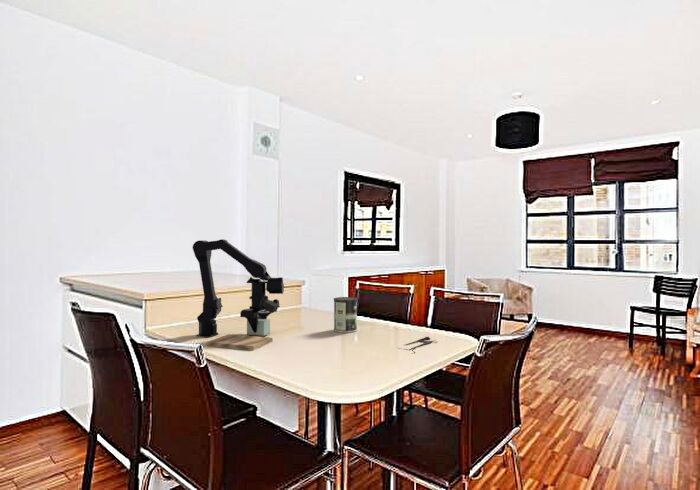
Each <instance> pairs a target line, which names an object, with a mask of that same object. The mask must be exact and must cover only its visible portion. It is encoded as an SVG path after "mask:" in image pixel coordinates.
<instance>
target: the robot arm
mask: <svg viewBox="0 0 700 490" xmlns="http://www.w3.org/2000/svg"><path fill="white" fill-rule="evenodd" d="M192 250H193V254H194V256H195V258H196V260H197V262H198V265H199V271H200V277H201V278H200V279H201V284H202V290H203V295H204V296H203V302H202V311H201V313H200V314H199V315H198V316H196V317H197V318H196V319H197V322H198V333H197V334H196V337H204V338H205V337H206V338H210V337H214V336H216V335H219V332H217V331H218V324H217V320H216V319H217V317H218V315H219V314H221V312H222V308H223V304H222V298H221V297H218V296H217V294H216V290H215V284H214V278H213V272H212V266H211V265H212V263H211V259H212V251H216V250H217V251H218V250H221V251H222V252H224V253H225V254H227V256H229V257H230V258H232V259H234V261H237V262H238V263H239V264H241V266H242V267H244V269H245V270H246V271H247V272H248V273H249V274H250V277H249V278H248V280H247V281H246V284H251V295H250V296H249V297H248V298H249V300H251V305H250V306H249V308H245V309H241V310H240V312H239V317H241V318H246V321H247V320H248V322H249V324H250V326H251V328H252V330H253V332H255V333H256V332H257V324H258V319H268V317H269V316H270V315H271V314H274V313H277V312H278V309H279V308H280V307H281V306H280V300H279V299H273V300H270V299H269V297H268V295H266V292H267V293H269V295H271V294H273V295H275V294H277V295H284V292H285V284H284V278H283V277H282V276H281V277H272V276H271V275H270V274H269V273H268V271H267V267H266V265H265V264H264V263H261V262H260V261H257V260H255V259H252V258H251V257H249V256H248V255H246V254H245V253H244V252H242V251H241V250H239V249H238V248H236V247H235V246H234V245H232V244H231V243H230V242H229V241H228V240H226V239H223V238H222V239H217V240H211V241H208V240H205V239H204V240H197V241H195V242H194V243H193V244H192Z"/></svg>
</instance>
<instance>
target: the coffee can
mask: <svg viewBox="0 0 700 490" xmlns="http://www.w3.org/2000/svg"><path fill="white" fill-rule="evenodd" d="M357 303H358V298H357V297H354V296H353V297H351V296H339V297H333V331H334V332H336V333H345V334H346V333H354V332H357V331H358V328H357V327H358V322H357V321H358V318H357V316H358V315H357V314H358V310H357V307H358V304H357Z"/></svg>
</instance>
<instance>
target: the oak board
mask: <svg viewBox="0 0 700 490" xmlns="http://www.w3.org/2000/svg"><path fill="white" fill-rule="evenodd" d="M273 340H274V339H273V337H266V336H256V335H245V334H244V335H243V334H234V333H233V334H230V333H228V334H224V335H222V336H219V337H217V338H215V339H211V340H209V341H206V347H214V348H216V347H217V348H222V349H223V348H227V349H235V350H245V351H256V350H257V349H260V348H262V347H264V346H266V345H269V344H270V343H272V342H273Z"/></svg>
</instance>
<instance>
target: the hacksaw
mask: <svg viewBox="0 0 700 490" xmlns="http://www.w3.org/2000/svg"><path fill="white" fill-rule="evenodd" d="M417 343H421V344H418V345H416V346H413V347H411V348H409V349H407V348H404V350H405V351H412V353H411V355H412V354H416V351H415V350H416V349H417V348H420V347H424V346H427V345H430V344H432V343H434V344H436V343H438V340H435V341H434V340H431V338H430V337H429V336H425V337H422V338H420V339H417V340H415V341H412V342H408V343H405V344H404V346H409V345H413V344H417ZM397 349H398V350H401V348H400V347H397Z"/></svg>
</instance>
